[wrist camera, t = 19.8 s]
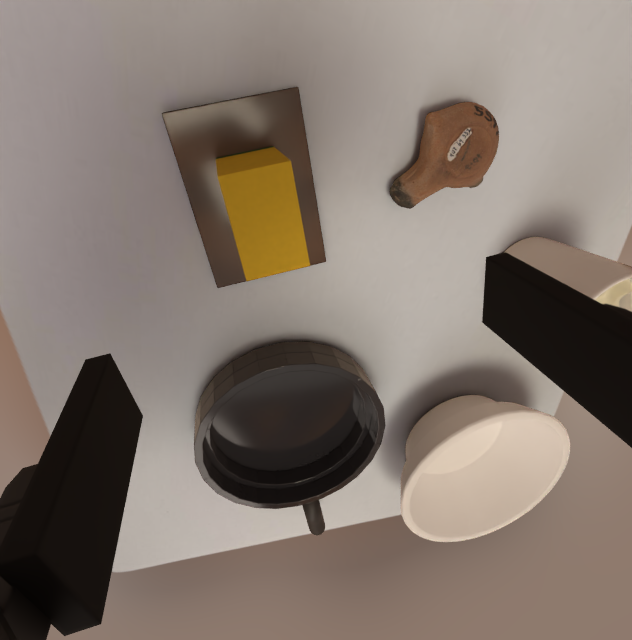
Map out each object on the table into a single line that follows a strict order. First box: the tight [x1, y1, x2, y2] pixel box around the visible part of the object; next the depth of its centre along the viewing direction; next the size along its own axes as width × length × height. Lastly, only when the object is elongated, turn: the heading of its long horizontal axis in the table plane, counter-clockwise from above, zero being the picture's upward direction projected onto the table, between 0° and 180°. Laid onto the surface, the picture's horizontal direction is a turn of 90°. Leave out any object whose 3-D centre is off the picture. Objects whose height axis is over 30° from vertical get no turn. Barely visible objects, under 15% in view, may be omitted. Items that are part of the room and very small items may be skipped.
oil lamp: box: [390, 102, 499, 208], centre depth 34 cm, size 9×4×8 cm
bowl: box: [401, 395, 570, 542], centre depth 50 cm, size 21×21×8 cm
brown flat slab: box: [162, 87, 326, 288], centre depth 33 cm, size 14×10×1 cm
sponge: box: [216, 146, 310, 281], centre depth 30 cm, size 7×4×8 cm, turn 9°
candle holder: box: [504, 237, 632, 312], centre depth 39 cm, size 10×10×12 cm
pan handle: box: [303, 500, 325, 535], centre depth 49 cm, size 8×2×2 cm, turn 9°
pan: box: [194, 341, 385, 509], centre depth 44 cm, size 20×20×4 cm
